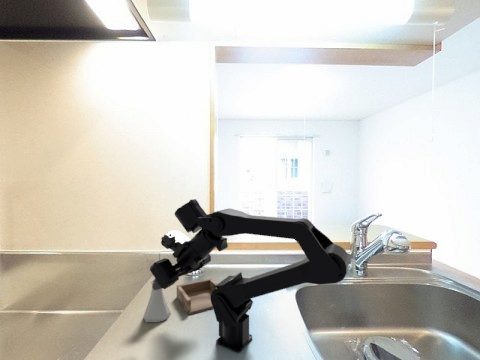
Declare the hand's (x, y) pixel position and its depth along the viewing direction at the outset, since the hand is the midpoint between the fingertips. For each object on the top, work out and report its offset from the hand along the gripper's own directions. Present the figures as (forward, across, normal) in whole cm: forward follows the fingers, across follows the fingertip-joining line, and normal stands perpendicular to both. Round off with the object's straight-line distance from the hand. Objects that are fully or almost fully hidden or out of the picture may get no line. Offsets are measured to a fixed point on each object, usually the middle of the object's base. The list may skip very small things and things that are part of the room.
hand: (166, 281), depth 70 cm
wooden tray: (+5, -12, +9) cm, 16 cm away
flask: (+10, 0, +5) cm, 11 cm away
